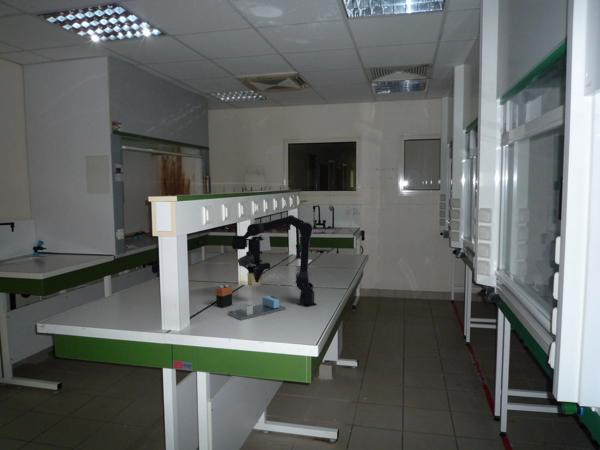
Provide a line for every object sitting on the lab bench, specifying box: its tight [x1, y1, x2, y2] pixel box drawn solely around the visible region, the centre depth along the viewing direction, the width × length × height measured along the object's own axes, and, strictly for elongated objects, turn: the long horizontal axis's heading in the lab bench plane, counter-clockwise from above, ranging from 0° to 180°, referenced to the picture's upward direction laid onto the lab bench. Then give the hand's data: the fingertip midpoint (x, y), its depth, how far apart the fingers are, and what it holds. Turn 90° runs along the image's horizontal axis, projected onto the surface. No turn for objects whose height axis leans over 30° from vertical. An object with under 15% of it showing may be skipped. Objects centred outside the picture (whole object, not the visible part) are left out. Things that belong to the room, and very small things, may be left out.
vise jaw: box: [261, 295, 280, 308], centre depth 194 cm, size 4×9×4 cm, turn 40°
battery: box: [215, 284, 233, 309], centre depth 200 cm, size 4×7×10 cm, turn 145°
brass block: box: [247, 272, 263, 287], centre depth 202 cm, size 6×4×6 cm, turn 130°
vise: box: [227, 301, 287, 321], centre depth 189 cm, size 24×11×5 cm, turn 130°
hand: (254, 281), depth 202 cm, fingers closed on brass block, 3 cm apart
